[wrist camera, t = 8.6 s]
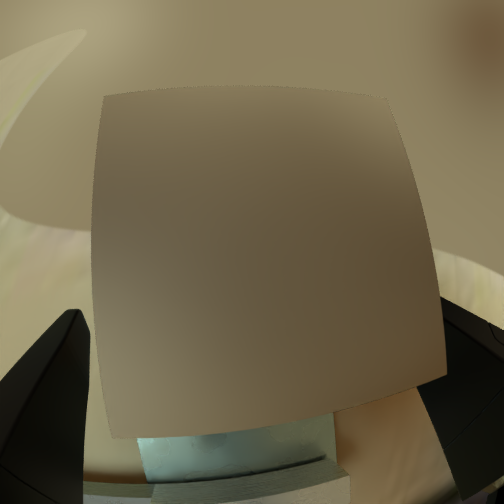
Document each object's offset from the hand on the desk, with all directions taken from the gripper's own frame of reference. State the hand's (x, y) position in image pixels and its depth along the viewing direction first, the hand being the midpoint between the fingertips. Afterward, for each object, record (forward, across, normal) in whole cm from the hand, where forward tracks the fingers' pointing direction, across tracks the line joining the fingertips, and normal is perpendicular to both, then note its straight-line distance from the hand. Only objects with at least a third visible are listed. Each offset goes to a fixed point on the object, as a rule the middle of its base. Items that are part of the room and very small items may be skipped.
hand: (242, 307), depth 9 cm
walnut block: (+6, 0, +5) cm, 8 cm away
